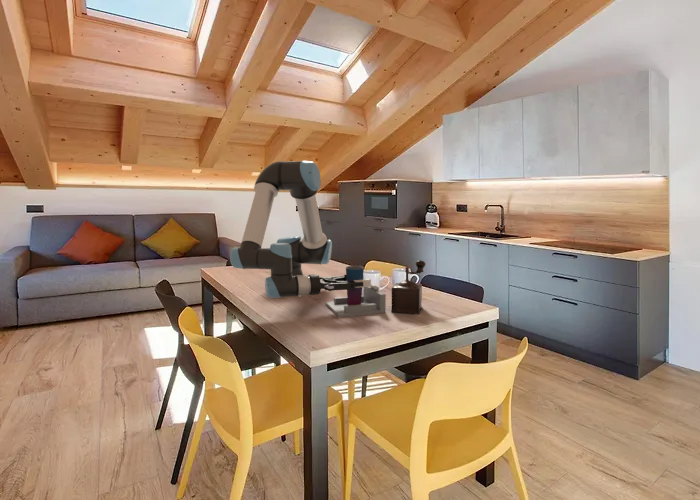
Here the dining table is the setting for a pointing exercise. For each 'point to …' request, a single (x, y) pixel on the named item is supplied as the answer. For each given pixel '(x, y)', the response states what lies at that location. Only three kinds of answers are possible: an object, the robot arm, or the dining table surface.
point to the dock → (369, 304)
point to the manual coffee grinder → (408, 293)
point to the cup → (352, 275)
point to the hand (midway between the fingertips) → (366, 280)
